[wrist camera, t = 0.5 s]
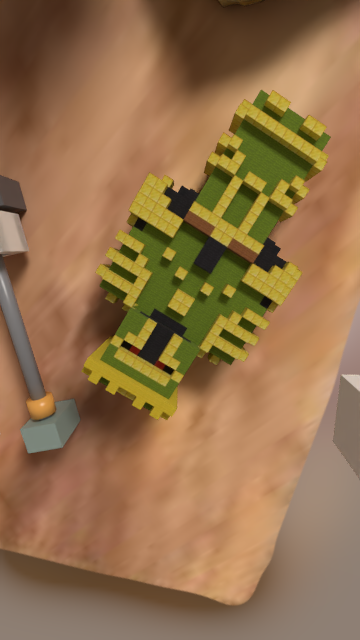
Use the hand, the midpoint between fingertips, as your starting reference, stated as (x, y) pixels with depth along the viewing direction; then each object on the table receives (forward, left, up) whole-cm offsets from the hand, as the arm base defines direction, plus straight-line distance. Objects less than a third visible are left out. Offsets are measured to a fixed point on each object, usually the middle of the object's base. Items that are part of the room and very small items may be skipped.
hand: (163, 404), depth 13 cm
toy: (-4, +3, -27) cm, 28 cm away
